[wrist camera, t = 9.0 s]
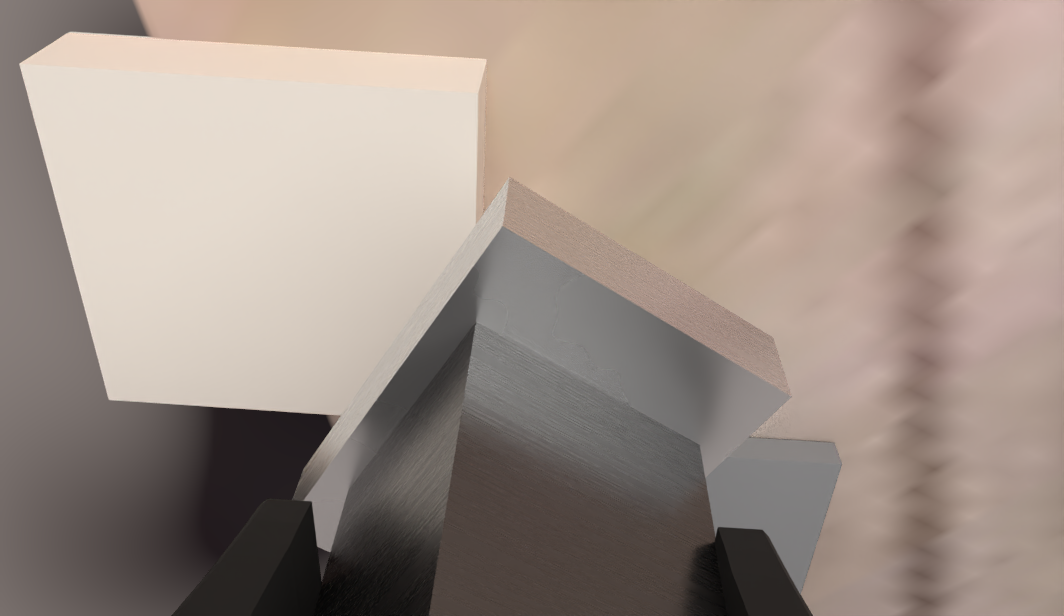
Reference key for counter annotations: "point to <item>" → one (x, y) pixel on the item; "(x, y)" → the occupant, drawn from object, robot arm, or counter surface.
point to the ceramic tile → (254, 208)
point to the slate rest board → (777, 495)
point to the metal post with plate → (540, 435)
